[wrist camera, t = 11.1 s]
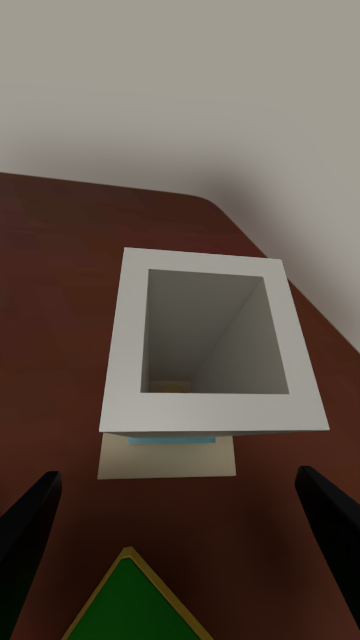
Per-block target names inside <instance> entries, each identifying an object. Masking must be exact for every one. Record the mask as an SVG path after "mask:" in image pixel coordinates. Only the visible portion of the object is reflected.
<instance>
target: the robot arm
mask: <svg viewBox="0 0 360 640" xmlns="http://www.w3.org/2000/svg"><path fill="white" fill-rule="evenodd" d="M295 488H296V491H297V493H298V496H299V499H300V501H301V504H302V506H303V509H304V511H305V514H306V516H307V519H308V522H309V524H310V527H311V529H312V532H313V534H314V536H315V539H316V541H317V543H318V545H319V547H320V549H321V551H322V553H323V555H324V557H325V560H326V562H327V564H328V566H329V568H330V570H331V572H332V574H333V576H334V578H335V580H336V582H337V584H338V586H339V589H340V591H341V593H342V595H343V597H344V599H345V601H346V603H347V605H348V607H349V609H350V611H351V613H352V615H353V618H354V620H355V622H356V624H357V626H358V628H359V630H360V504H358V503H357V502H356V501H355V500H353V499H352V498H351V497H349V496H348V495H347V494H346V493H344V492H343V491H342V490H340V489H339V488H338V487H337V486H335V485H334V484H333V483H331V482H330V481H329V480H328V479H326V478H325V477H324V476H322V475H321V474H320V473H319V472H317V471H316V470H315V469H313V468H312V467H310V466H300V467H299V468H298V471H297V475H296V479H295ZM61 493H62V484H61V474H60V472H59V471H49V472H47V473H45V474H44V475H43V476H42V477H41V478H40V479H39V480H38V481H37V482H36V483H35V484H34V485H33V486H32V487H31V488H30V489H29V490H28V491H27V492H26V493H25V494H24V495H23V496H22V497H21V498H20V499H19V500H18V501H17V502H16V503H15V504H14V505H13V506H12V507H11V508H10V509H9V510H8V511H7V512H6V513H5V514H4V515H2V516H1V517H0V640H10V637H11V635H12V632H13V630H14V627H15V625H16V622H17V619H18V617H19V614H20V612H21V609H22V607H23V604H24V602H25V599H26V597H27V594H28V592H29V589H30V586H31V584H32V581H33V579H34V576H35V574H36V571H37V569H38V566H39V564H40V561H41V558H42V556H43V553H44V550H45V547H46V544H47V540H48V537H49V534H50V530H51V527H52V524H53V520H54V517H55V514H56V510H57V507H58V504H59V500H60V497H61Z"/></svg>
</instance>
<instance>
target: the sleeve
mask: <svg viewBox="0 0 360 640" xmlns="http://www.w3.org/2000/svg"><path fill="white" fill-rule="evenodd" d="M149 381H178V382H191V393H149ZM321 430H330V429H329V426H328V422H327V419H326V415H325V412H324V408H323V404H322V401H321V397H320V394H319V390H318V387H317V383H316V380H315V376H314V373H313V369H312V366H311V362H310V359H309V355H308V352H307V348H306V345H305V341H304V338H303V334H302V331H301V327H300V324H299V320H298V317H297V313H296V310H295V306H294V303H293V299H292V296H291V292H290V289H289V285H288V282H287V278H286V275H285V271H284V268H283V264H282V261H281V260H280V259H268V258H255V257H242V256H229V255H216V254H203V253H190V252H178V251H165V250H152V249H139V248H126V247H124V255H123V262H122V269H121V276H120V284H119V291H118V298H117V305H116V312H115V320H114V327H113V334H112V341H111V348H110V356H109V363H108V370H107V377H106V384H105V392H104V399H103V406H102V413H101V420H100V428H99V432H103V433H109V434H114V435H120V436H125V437H129V439H128V444H166V443H216V439H215V437H224V436H240V435H256V434H272V433H288V432H305V431H321Z"/></svg>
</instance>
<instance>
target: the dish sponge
mask: <svg viewBox="0 0 360 640" xmlns="http://www.w3.org/2000/svg"><path fill="white" fill-rule="evenodd" d="M61 640H214V639H213V638H212V637H211V636H210V634H209V633H208V632H207V631H206V630H205V629H204V628H203V627H202V625H201V624H200V623H199V622H198V621H197V620H196V619H195V617H194V616H193V615H192V614H191V613H190V612H189V611H188V610H187V608H186V607H185V606H184V605H183V604H182V603H181V602H180V600H179V599H178V598H177V597H176V596H175V595H174V594H173V592H172V591H171V590H170V589H169V588H168V587H167V586H166V585H165V583H164V582H163V581H162V580H161V579H160V578H159V577H158V575H157V574H156V573H155V572H154V571H153V570H152V569H151V568H150V566H149V565H148V564H147V563H146V562H145V561H144V560H143V558H142V557H141V556H140V555H139V554H138V553H137V552H136V551H135V549H134V548H133V547H132V546H131V547H125V548H123V550H122V551H121V553H120V554H119V556H118V557H117V558H116V560H115V561H114V563H113V564H112V566H111V567H110V569H109V570H108V572H107V573H106V574H105V576H104V577H103V579H102V580H101V582H100V583H99V585H98V586H97V588H96V589H95V591H94V592H93V593H92V595H91V596H90V598H89V599H88V601H87V602H86V604H85V605H84V607H83V608H82V609H81V611H80V612H79V614H78V615H77V617H76V618H75V620H74V621H73V623H72V624H71V625H70V627H69V628H68V630H67V631H66V633H65V634H64V636H63V637H62V639H61Z"/></svg>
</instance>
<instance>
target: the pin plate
mask: <svg viewBox="0 0 360 640" xmlns="http://www.w3.org/2000/svg"><path fill="white" fill-rule="evenodd" d="M149 393H191V382H178V381H149ZM128 439H129V437H125V436H120V435H114V434H109V433H103V440H102V448H101V455H100V463H99V470H98V478H97V479H129V478H167V477H206V476H236V468H235V458H234V449H233V439H232V436H224V437H215V439H216V443H166V444H128Z"/></svg>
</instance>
